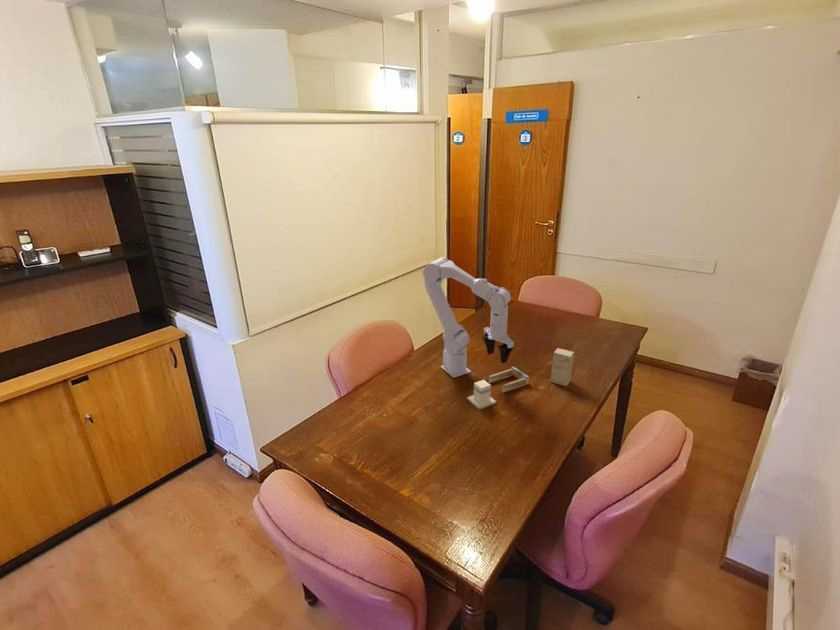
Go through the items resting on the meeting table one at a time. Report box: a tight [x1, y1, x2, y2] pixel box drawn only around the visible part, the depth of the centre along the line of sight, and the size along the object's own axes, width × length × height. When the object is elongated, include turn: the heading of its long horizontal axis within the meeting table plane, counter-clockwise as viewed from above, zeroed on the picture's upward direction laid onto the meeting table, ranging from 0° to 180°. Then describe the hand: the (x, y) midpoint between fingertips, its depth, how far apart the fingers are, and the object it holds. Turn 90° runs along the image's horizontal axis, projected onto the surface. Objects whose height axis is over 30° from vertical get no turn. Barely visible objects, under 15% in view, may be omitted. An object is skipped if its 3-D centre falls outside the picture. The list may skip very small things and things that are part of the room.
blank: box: [473, 379, 492, 404], centre depth 150 cm, size 4×4×6 cm
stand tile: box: [466, 394, 497, 410], centre depth 151 cm, size 7×7×1 cm
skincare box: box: [549, 347, 575, 387], centre depth 159 cm, size 6×4×12 cm
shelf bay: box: [488, 366, 530, 394], centre depth 161 cm, size 8×12×3 cm
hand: (497, 357), depth 158 cm, fingers open, 7 cm apart
